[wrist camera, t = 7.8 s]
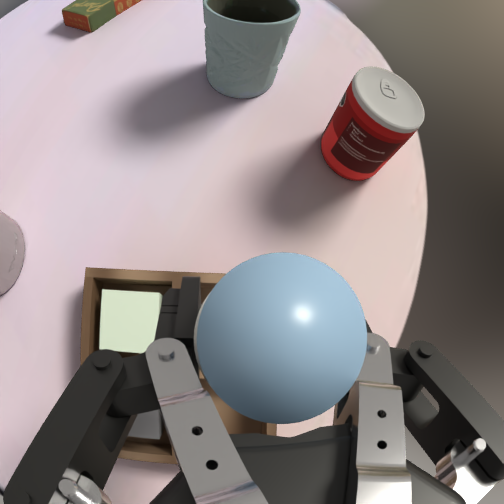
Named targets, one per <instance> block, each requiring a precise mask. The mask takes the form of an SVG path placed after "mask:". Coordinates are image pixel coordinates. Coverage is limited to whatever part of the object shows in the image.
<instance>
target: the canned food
mask: <svg viewBox="0 0 504 504" xmlns="http://www.w3.org/2000/svg"><path fill="white" fill-rule="evenodd" d="M423 120H424V108H423V105H422V103H421V101H420V98H419V97H418V95H417V93H416V92H415V91H414V90H413V88H412V87H411V86H410V85H409V84H408V83H407V82H406V81H404V80H403V79H402V78H401V77H399V76H398V75H396V74H394V73H392V72H390V71H388V70H386V69H383V68H379V67H364V68H362V69H360V70H359V71H358V72H357V73H356V75H355V76H354V77H353V79H352V81H351V83H350V84H349V86H348V88H347V90H346V92H345V94H344V95H343V97H342V99H341V101H340V103H339V105H338V107H337V108H336V110H335V112H334V114H333V116H332V118H331V120H330V121H329V123H328V125H327V127H326V129H325V131H324V133H323V135H322V139H321V150H322V154H323V157H324V159H325V161H326V162H327V164H328V165H329V166H330V168H331V169H332V170H333V171H334V172H336V173H337V174H338V175H340V176H342V177H344V178H346V179H349V180H353V181H360V180H365V179H368V178H370V177H372V176H373V175H375V174H376V173H377V172H378V171H379V170H380V169H381V168H382V167H383V166H384V165H385V163H386V162H387V161H388V160H389V159H390V158H391V157H392V156H393V155H394V154H395V153H396V152H397V151H398V150H399V149H400V148H401V147H402V146H403V145H404V144H405V143H406V142H407V141H408V140H409V138H410V137H411V136H412V135H413V134H414V133H415V132H416V131H417V130H418V129H419V127H420V125H421V124H422V122H423Z"/></svg>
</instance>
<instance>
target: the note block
mask: <svg viewBox="0 0 504 504" xmlns="http://www.w3.org/2000/svg"><path fill="white" fill-rule="evenodd" d="M162 298H163V295H161V294H160V293H155V292H137V291H120V290H105V289H102V300H101V317H100V347H99V349H110V350H113V351H121V352H132V353H144V352H145V351H146V349H147V347H148V346H149V345H150V344H151V343H152V342H154V339H155V333H156V328H157V323H158V318H159V314H160V308H161V303H162Z"/></svg>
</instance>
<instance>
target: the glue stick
mask: <svg viewBox="0 0 504 504" xmlns="http://www.w3.org/2000/svg"><path fill="white" fill-rule="evenodd" d="M366 347H367V328H366V321H365V317H364V313H363V310H362V307H361V304H360V302H359V300H358V298H357V296H356V294H355V293H354V291H353V290H352V288H351V287H350V285H349V284H348V283H347V282H346V281H345V280H344V278H343V277H342V276H341V275H339V274H338V273H337V272H336V271H335V270H334V269H332V268H331V267H329V266H328V265H326V264H324V263H322V262H320V261H318V260H316V259H314V258H311V257H308V256H305V255H300V254H296V253H285V252H284V253H270V254H265V255H261V256H258V257H254V258H251V259H249V260H247V261H245V262H243V263H241V264H239V265H238V266H236V267H235V268H233V269H232V270H231V271H229V272H228V273H227V274H226V275H225V276H223V277H222V279H221V280H220V281H219V282H218V283H217V284H216V285H215V287H214V288H213V290H212V291H211V292H210V293H209V295H208V296H207V297H206V299H205V300H204V302H203V304H202V306H201V308H200V310H199V313H198V316H197V319H196V324H195V329H194V350H195V355H196V360H197V363H198V365H199V368H200V370H201V372H202V374H203V376H204V378H205V380H206V381H207V382H208V384H209V385H210V387H211V388H212V389H213V390H214V391H215V393H216V394H217V395H218V396H219V397H220V398H221V399H222V400H223V401H224V402H225V403H226V404H227V405H229V406H230V407H231V408H232V409H234V410H235V411H237V412H239V413H241V414H242V415H244V416H247V417H249V418H251V419H254V420H257V421H261V422H265V423H273V424H289V423H296V422H301V421H304V420H308V419H311V418H313V417H315V416H318V415H320V414H322V413H323V412H325V411H327V410H328V409H330V408H331V407H333V406H334V405H335V404H336V403H338V402H339V401H340V400H341V399H342V398H343V397H344V396H345V395H346V393H347V392H348V391H349V390H350V388H351V387H352V386H353V384H354V382H355V380H356V379H357V377H358V375H359V373H360V370H361V368H362V365H363V362H364V358H365V354H366Z"/></svg>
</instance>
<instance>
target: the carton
mask: <svg viewBox="0 0 504 504" xmlns="http://www.w3.org/2000/svg"><path fill="white" fill-rule="evenodd" d="M140 1H141V0H76V1H74V2H73V3H71V4H70V5H68V6H67V7H65V8H64V9H62V15H63V19H64V23H65V25H66V26H70V27H74V28H77V29H81V30H84V31H88V32H91V33H92V32H94V31H95V30H97V29H98V28H99V27H101V26H102V25H104V24H105V23H106V22H108V21H109V20H111V19H112V18H114V17H115V16H117V15H119V14H120V13H122V12H123V11H125V10H127V9H128V8H130V7H131V6H133V5H135V4H136V3H138V2H140Z"/></svg>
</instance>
